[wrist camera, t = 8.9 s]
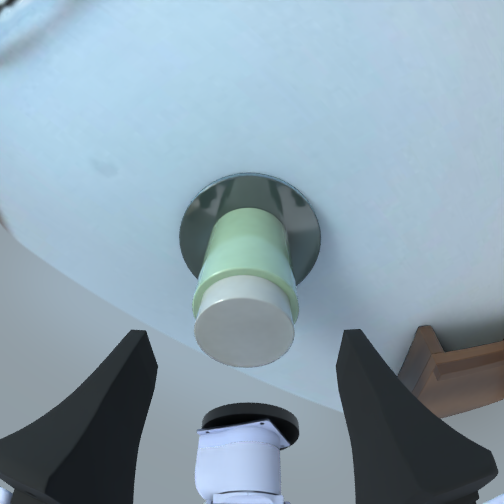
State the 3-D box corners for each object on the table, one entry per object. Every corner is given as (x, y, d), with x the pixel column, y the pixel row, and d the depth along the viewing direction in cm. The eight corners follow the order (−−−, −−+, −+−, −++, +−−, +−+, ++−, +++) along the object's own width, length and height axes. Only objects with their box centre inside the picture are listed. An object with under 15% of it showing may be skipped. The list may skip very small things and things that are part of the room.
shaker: (230, 285, 20) (219, 381, 13) (195, 224, 18) (164, 311, 11) (299, 261, 19) (316, 356, 13) (270, 194, 17) (278, 273, 10)
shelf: (489, 373, 26) (506, 406, 22) (389, 393, 27) (401, 436, 22) (524, 310, 22) (550, 345, 18) (418, 326, 22) (441, 374, 18)
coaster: (218, 309, 21) (218, 315, 21) (156, 206, 18) (153, 210, 17) (335, 270, 20) (337, 276, 19) (290, 149, 16) (291, 152, 16)
